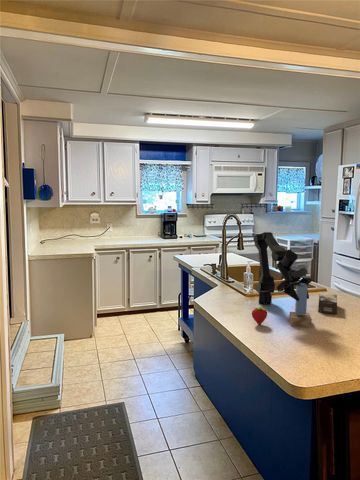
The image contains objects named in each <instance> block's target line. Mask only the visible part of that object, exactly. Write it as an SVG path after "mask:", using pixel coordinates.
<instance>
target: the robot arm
mask: <svg viewBox="0 0 360 480" xmlns="http://www.w3.org/2000/svg"><path fill="white" fill-rule="evenodd" d="M253 243H254V246H255V247H256V249H257V252H258V259H259V260H258V261H259V268H260V277H259V278H258V284H257V285H256V288H255V291H256V293H258V305H269V306H270V305H271V304H272V297H273V296H272V294H274V292H275V290H277V292H278V293H281V292H282V293H285V294H286V295H288V296H289V297H290V298H292V299H293V300H295V301H296V300H297V301H299V298H298V296H297V294H296V289H295V287H296V284H299V283H305V285H307V287H308V286H309V284H311V283H312V282H313V280H312V278H311V277H309V276H307V275H308V270H307V269H306V267H301V268H299V270H298V269H297V270H296V269H293V268H292V267H293V265H294V264H295V262H296V261H297V260H298V254H297V253H296V252H294V251H292V249H286V248H285V247H282V246H281V245H280V244H279V243H278V241H277V240H276V238H275V237H274V234H273V232H271V231H264V232H262V233H257V234H256V233H255V235H253ZM268 247H269V249H270V251H271V258H272V260H273V261H274V262H278V263H275V270H278V271H279V273H280V275H281V277H280V278H281V280H282V281H280V282H279V283H278V284H277V285H276V284H275V278H274V276H272V275H271V272H270V266H269V265H270V264H269V256H268ZM275 288H276V289H275ZM309 294H310V293H309V291H308V289H307V300H309V299H310V295H309Z"/></svg>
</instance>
